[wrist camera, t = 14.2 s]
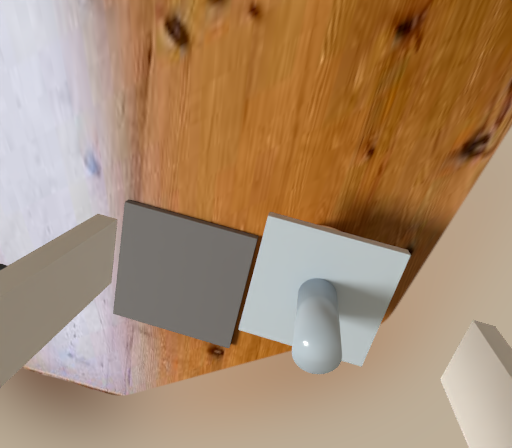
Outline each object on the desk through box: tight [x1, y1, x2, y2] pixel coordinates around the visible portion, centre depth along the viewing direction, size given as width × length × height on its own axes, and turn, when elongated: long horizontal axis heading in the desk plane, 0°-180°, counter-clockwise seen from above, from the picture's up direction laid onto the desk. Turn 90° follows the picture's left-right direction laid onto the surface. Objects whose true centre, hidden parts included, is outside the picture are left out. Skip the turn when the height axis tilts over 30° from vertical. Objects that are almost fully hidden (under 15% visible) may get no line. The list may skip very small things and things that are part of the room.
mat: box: [113, 200, 258, 348], centre depth 52 cm, size 18×18×1 cm
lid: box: [238, 212, 411, 374], centre depth 35 cm, size 14×14×10 cm
